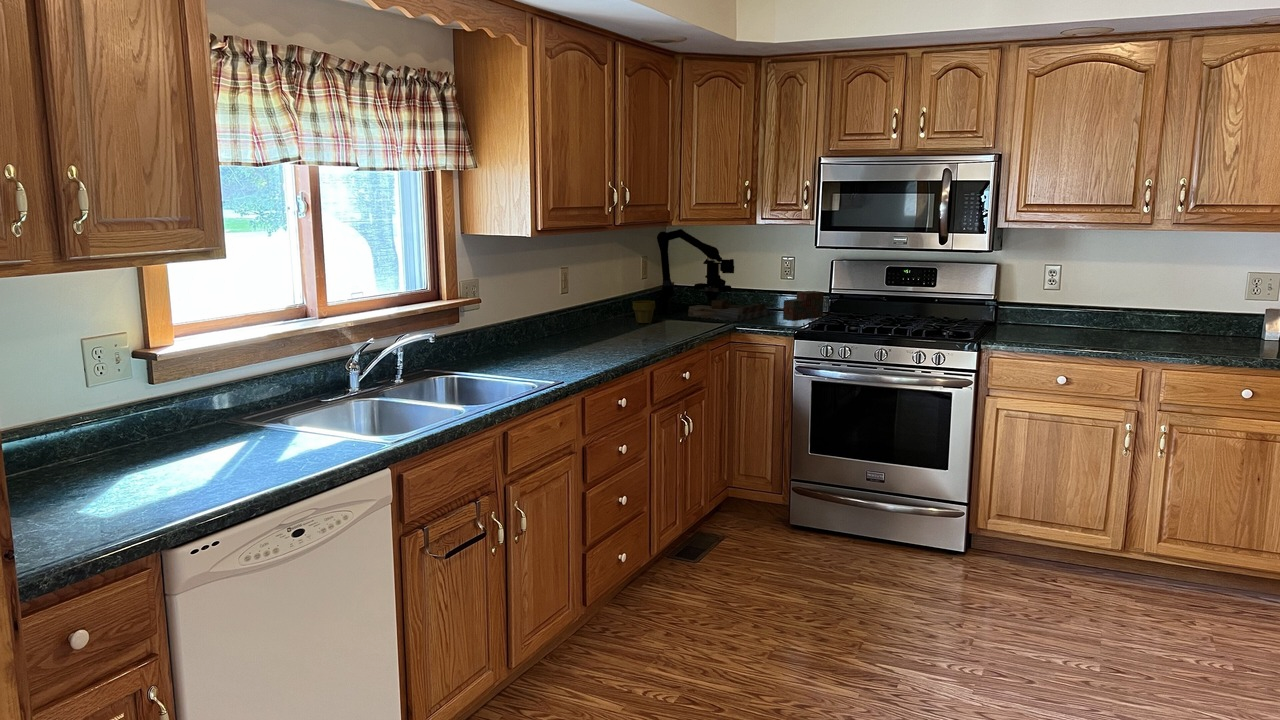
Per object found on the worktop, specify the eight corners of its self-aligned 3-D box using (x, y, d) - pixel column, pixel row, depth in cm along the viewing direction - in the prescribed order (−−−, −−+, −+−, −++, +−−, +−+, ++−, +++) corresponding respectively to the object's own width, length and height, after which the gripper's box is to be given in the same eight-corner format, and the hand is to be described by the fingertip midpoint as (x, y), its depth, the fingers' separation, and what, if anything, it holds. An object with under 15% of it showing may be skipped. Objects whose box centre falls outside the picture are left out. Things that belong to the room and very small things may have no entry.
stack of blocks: (792, 321, 422) (793, 294, 419) (782, 319, 427) (783, 293, 424) (823, 317, 435) (824, 291, 433) (812, 315, 440) (813, 290, 437)
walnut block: (721, 309, 437) (721, 301, 437) (711, 308, 441) (711, 300, 440) (728, 308, 442) (728, 300, 441) (718, 307, 446) (718, 299, 445)
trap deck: (737, 321, 420) (737, 308, 418) (676, 314, 441) (676, 302, 440) (769, 315, 441) (769, 302, 440) (709, 308, 463) (710, 297, 462)
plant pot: (629, 322, 419) (629, 300, 417) (650, 320, 423) (650, 299, 421) (637, 325, 410) (637, 303, 408) (658, 324, 413) (658, 302, 411)
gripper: (738, 273, 442) (737, 305, 445) (706, 270, 453) (706, 302, 456) (725, 275, 433) (724, 307, 436) (693, 272, 445) (693, 304, 448)
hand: (712, 305), depth 444 cm, fingers closed
